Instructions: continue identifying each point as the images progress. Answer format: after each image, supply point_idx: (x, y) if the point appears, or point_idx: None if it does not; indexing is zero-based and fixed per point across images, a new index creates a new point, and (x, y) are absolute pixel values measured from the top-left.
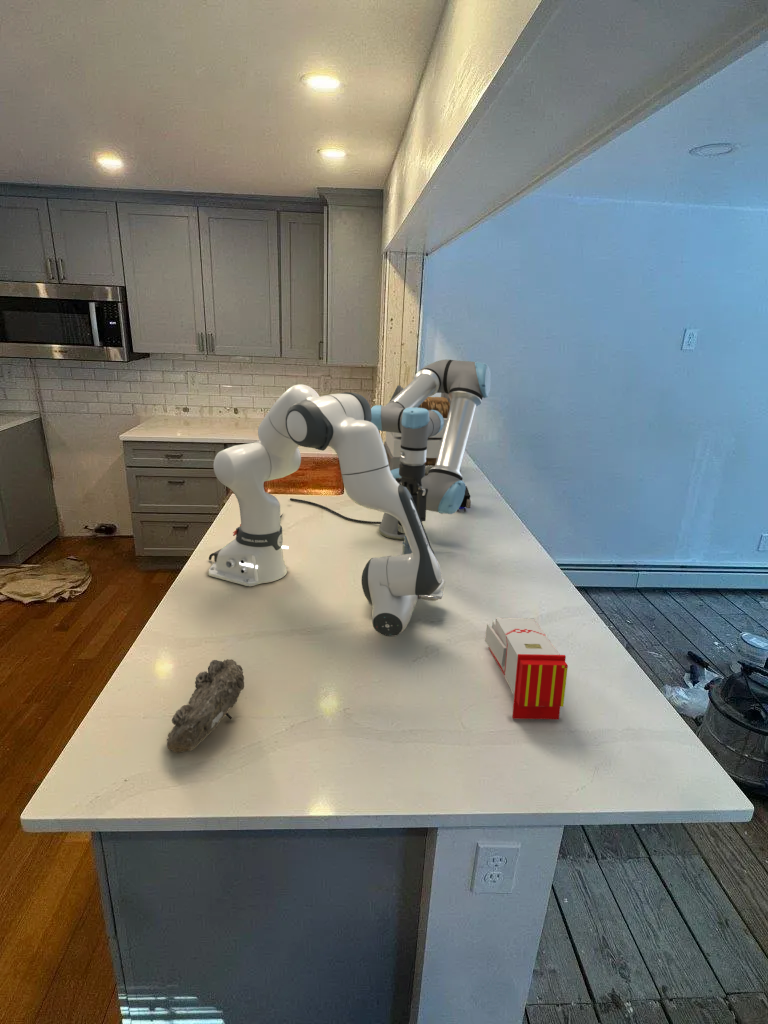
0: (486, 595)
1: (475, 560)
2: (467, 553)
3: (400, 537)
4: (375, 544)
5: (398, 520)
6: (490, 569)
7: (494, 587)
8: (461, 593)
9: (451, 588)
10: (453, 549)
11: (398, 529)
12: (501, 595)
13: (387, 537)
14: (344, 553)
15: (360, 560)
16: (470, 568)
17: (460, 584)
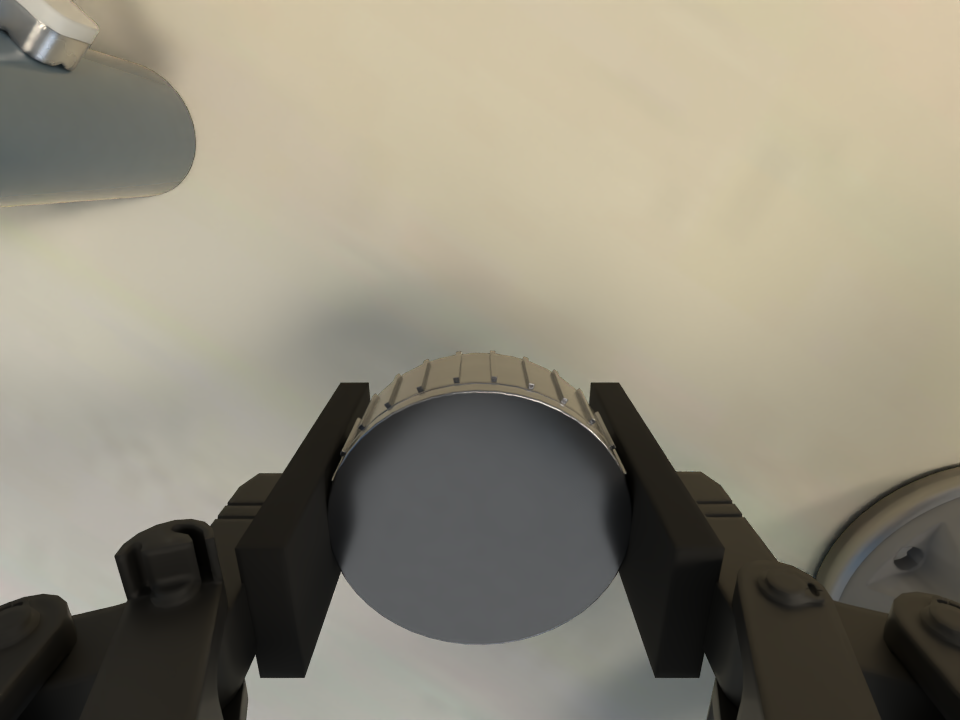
0: (22, 524)
1: (404, 696)
2: (494, 710)
3: (866, 531)
4: (917, 347)
5: (668, 476)
6: (286, 694)
7: (97, 603)
8: (71, 430)
9: (142, 417)
10: (571, 684)
11: (520, 364)
12: (8, 582)
13: (942, 471)
14: (955, 32)
15: (765, 92)
16: (331, 629)
17: (174, 486)
